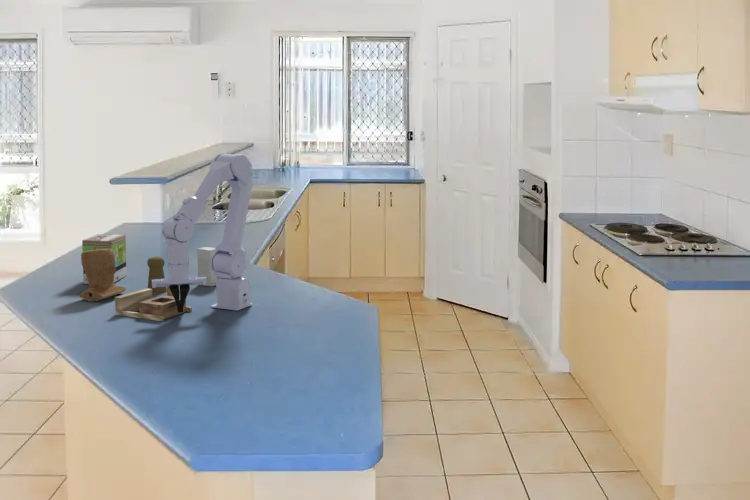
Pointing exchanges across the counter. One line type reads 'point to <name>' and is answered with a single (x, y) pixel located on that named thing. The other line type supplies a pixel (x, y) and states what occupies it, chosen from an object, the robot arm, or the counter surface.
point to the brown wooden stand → (99, 274)
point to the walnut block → (160, 306)
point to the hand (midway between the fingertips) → (180, 311)
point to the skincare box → (206, 265)
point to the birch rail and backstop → (136, 305)
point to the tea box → (106, 242)
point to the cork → (156, 273)
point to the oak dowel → (169, 292)
